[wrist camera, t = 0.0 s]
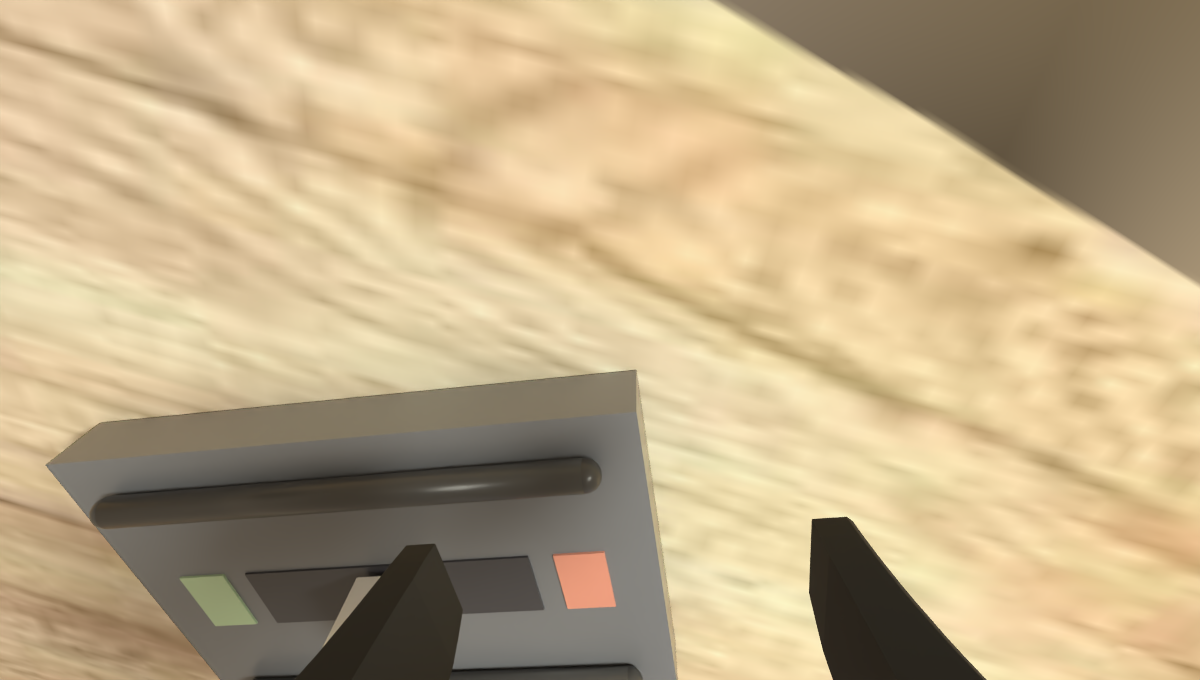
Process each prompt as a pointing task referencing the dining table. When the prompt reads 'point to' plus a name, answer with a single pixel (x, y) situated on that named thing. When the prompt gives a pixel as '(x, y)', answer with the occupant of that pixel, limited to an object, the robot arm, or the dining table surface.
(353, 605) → the breaker toggle
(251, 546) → the breaker panel
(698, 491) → the dining table surface
